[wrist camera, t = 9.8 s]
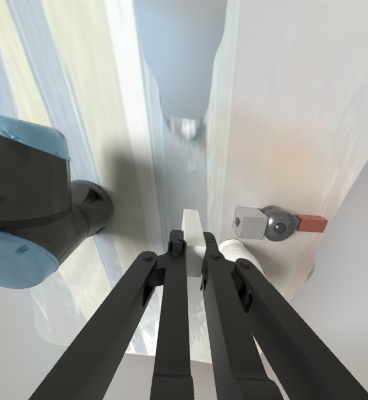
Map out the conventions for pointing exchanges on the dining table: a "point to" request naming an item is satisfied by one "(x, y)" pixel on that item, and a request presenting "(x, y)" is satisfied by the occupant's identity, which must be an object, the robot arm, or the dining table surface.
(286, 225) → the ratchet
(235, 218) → the grey cube
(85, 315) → the dining table surface
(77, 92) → the dining table surface
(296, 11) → the dining table surface
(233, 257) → the jar
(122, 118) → the dining table surface
